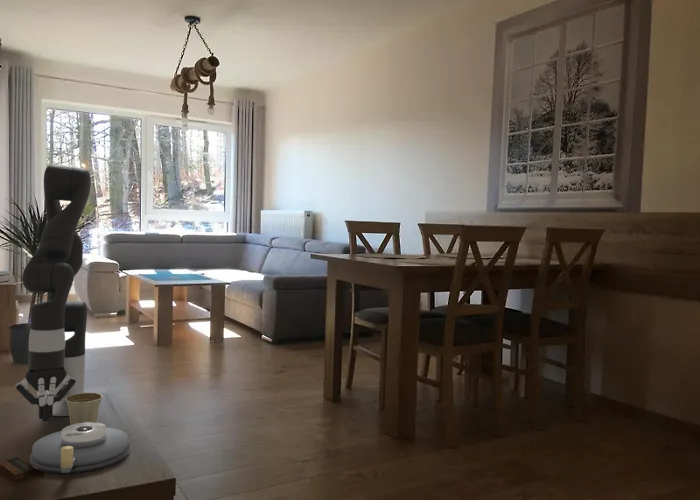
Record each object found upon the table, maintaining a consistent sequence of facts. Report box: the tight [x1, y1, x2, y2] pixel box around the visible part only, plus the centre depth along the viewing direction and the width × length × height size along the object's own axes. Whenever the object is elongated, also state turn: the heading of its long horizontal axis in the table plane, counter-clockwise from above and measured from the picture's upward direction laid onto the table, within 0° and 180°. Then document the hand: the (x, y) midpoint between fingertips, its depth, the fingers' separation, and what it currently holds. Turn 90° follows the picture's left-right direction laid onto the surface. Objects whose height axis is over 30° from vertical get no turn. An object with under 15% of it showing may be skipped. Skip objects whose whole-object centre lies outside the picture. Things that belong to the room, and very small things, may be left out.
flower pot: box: [65, 392, 103, 425], centre depth 158 cm, size 9×9×9 cm
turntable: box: [31, 427, 129, 473], centre depth 137 cm, size 26×21×6 cm
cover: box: [60, 422, 107, 449], centre depth 139 cm, size 10×10×3 cm
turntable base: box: [29, 442, 131, 475], centre depth 139 cm, size 22×22×1 cm
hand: (45, 420), depth 135 cm, fingers closed
